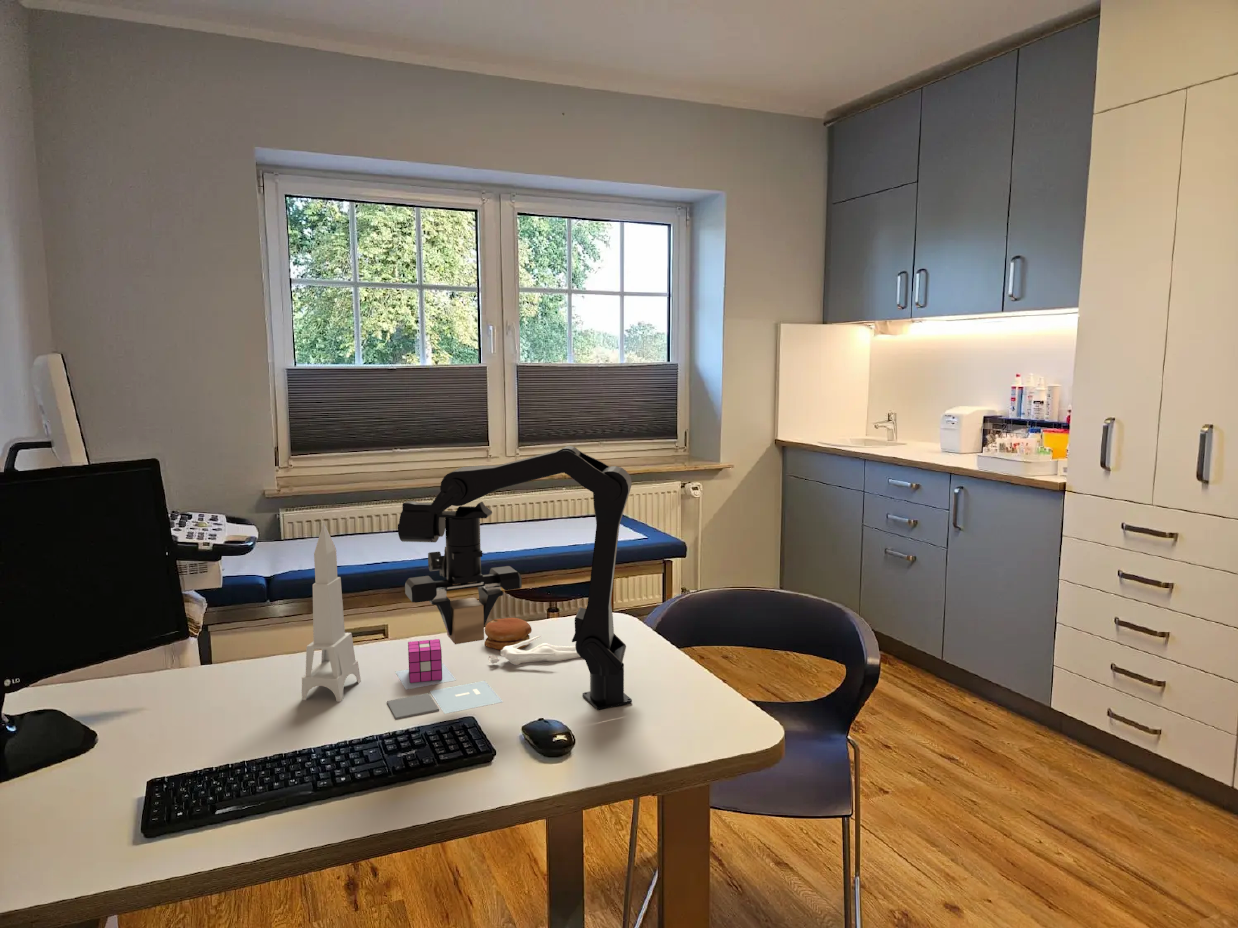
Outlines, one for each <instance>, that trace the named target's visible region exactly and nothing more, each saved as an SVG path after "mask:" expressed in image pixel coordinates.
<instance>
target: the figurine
mask: <svg viewBox="0 0 1238 928" xmlns="http://www.w3.org/2000/svg"><path fill="white" fill-rule="evenodd" d="M541 638H542V635H536V636H534V637H532V638H531V637H530V639H529V640H526V641H523V642H520V643H518V644H515V645H510V646H505V647H504V648H503V650H499V651H500V652H499V653H500V656H502V658H505V659H506V660H507V661H508V662H509V663H511V664H512V665H515V666H518V665H520V664H524V663H525V664H527V663H535V662H545V661H546V662H561V661H567V660H571V659H576V658H577V659H578V658H581V657H580V655H579V654H578V653H577V651H576V646H575V645H576V644H574V645H572V646H570V645H569V646H567V645H566V646H564V645H563V646H562V645H552V644H550V643H547V642H543V643H540V644H538V645H537V646H534V647H533V648H531V649H529V650H525V649H517V648H519V647H520V646H522V645H527V644H530V643H532V642H534V641H536V640H538V639H541ZM487 656H488V658H487V659H488V662H489V663H491V664H492V665H494V664H497V663H498V662H499V661H500V659H499V657H498V656H497V655H494V654H490V655H487Z"/></svg>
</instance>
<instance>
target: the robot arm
mask: <svg viewBox="0 0 1238 928" xmlns="http://www.w3.org/2000/svg"><path fill="white" fill-rule="evenodd" d="M559 474H565V475H567V476H569V477H570V478H571V479H573V480H574V481H576V482H577V483H578V484H579V485H580V486H582V487H583V488H585V489H586V490H588V491H590V492H591V493H592V497H593V499H592V500H593V508H594V516H595V525H596V528H595V534H594V535H595V537H594V542H593V543H594V544H593V551H592V552H593V554H592V563H591V570H590V580H589V588H588V599H587V604H586V608H583V607H581V606H580V607H579V609H578V611H577V613H576V615H575V618H574V635H573V638H572V639H571V642H572V643H575V644H574V645H575V646H576V651H577V653H578V654H579V655H580V657H579V658H581V659H583V660H584V661H585V663H586V666H587V669H588V672H589V678H590V679H589V691H585V692H582V698H584V699H585V700H586V701H587V702H589V704H591V705H592V706H593V707H594V709H596V710H600V711H601V710H604V709H610V708H614V707H618V706H622V705H623V706H624V705H627V704H628V705H629V704H631V703H632V702H633V699H632V698H631V697H630V696H628V695H627V694H626V693H625V690H624V689H625V687H624V686H625V678H624V677H625V664H624V662H623V661H624V658H625V657H624V656H625V653H626V649H627V645H626V644H625V642H623V641H622V640H621V639H620V637H618V635H616V633H615V631H614V630H615V629H614V616H613V611H612V610H613V608H612V594H613V593H612V592H613V586H614V585H613V584H614V577H615V568H616V560H617V559H616V558H617V552H618V542H619V534H620V527H621V526H620V525H621V521H622V518H623V515H624V511H625V509H626V505H627V502H628V499H629V496H630V492H631V488H632V484H633V483H632V478H631V477H632V476H631V475H630V474H629V472H628V471H627V470H626V469H625V468H623V467H620V466H618V465H614V466H612V465H611V466H609V465H608V464H606V463H604V462H602V461H600V460H599V459H596V458H595V457H592V456H590V455H587V454H586V453H585V452H582V451H580V450H579V449H578V448H577V447H576V446H571V445H567V446H564V447H562V448H561V449H557V450H553V451H550V452H549V451H548V452H544V453H541V454H537V455H533V456H529V457H525V458H522V459H517V460H514V461H509V462H506V463H501V464H495V465H473V466H472V465H469V466H463V467H460V468H457V469H455V470H453V471H451V472H448V473H447V474H446V475H444V476H443V477H442V480H441V482H440V487H439V488H440V491H439V493H438V494H437V495H436V497H435V498H434V500H432V502H418V501H412V500H408V501H405V502H403V503H402V507H401V509H402V510H401V511H400V512H401V513H400V516H399V520H398V524H397V533H398V538H399V540H400V541H401V542H403V543H404V542H406V543H436V542H438V540H439V538H441V537H443V536H444V534H445V546H444V554H443V555H442V554H441V551H439V550H438V551H432V552H428V553H427V565H428V570H429V572H435V571H436V572H437V571H439V576H440V577H443V578H446V579H440V580H434V579H432V577H431V576H429V575H425V576H424V575H423V576H415V577H409V578H407V580H406V581H405V584H404V593H405V595H406V597H407V598H408V599H409V600H410V601H411V603H423V602H429V603H430V604H431V605H433V606H436V607H437V609H438V611H439V614H440V617H441V619H442V622H443V625H444V626H445V629H446V634H447V633H448V634H449V636H451V635H452V616H451V603H450V601H451V599H450V598H448V596H447V592H451V591H457V590H465V589H474V588H477V591H478V592H477V593H478V601H479V602H480V603H481V604H482V605H483V609H484V627H486V624H487V621H488V619H489V615H490V614H491V612H492V609H493V607H494V606H495V604H496V602H497V600H498V598H499V597H501V596H502V597H503V596H504V592H505V591H511V590H512V591H513V590H520V589H521V588H522V587H523V586H522V585H523V584H522V580H523V579H522V576H521V573H519V572H518V571H517V570H515V569H514V568H513V567H512V566H510V565H506V566H498V567H497V566H496V567H491V568H490V570H489V573H488V574H482V562H481V561H482V559H481V558H482V557H483V550H482V548H481V519H488V517H490V516H491V515H492V514H493V511H492V510H491V509H490V508H488V507H487V506H486V505H485V504H484V502H483V501H479V502H478V503H477V504H476V506H469V505H467V504H469V503H471V502H473V501H475V500H476V501H477V500H478V499H480V498H482V497H484V496H487V495H489V494H491V493H492V492H494V491H497V490H499V489H503V488H504V489H505V488H507V487H511V486H514V485H515V486H517V485H519V484H523V483H527V482H531V481H535V480H539V479H543V478H547V477H551V476H554V475H559ZM465 505H467V506H465ZM453 506H454V507H458V508H457V509H456V510H447V509H448V508H450V507H453ZM503 590H504V591H503Z"/></svg>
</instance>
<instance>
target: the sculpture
mask: <svg viewBox="0 0 1238 928" xmlns="http://www.w3.org/2000/svg"><path fill="white" fill-rule="evenodd" d="M337 556H338V555H337V548H336V546H335V544H334V541H333V539H332V536H331V535H330V533H329V531H328V527H327V526H326V524H325V522H322V526H321V530H320V533H319V536H318V539H317V543H316V546H315V549H314V552H313V558H314V559H313V560H314V578H315V580H314V581H315V582H314V583H313V584H312V623H313V624H312V628H313V630H312V632H313V640H312V641H311V642H310V643H309V644H307V645H306V653H305V654H306V656H305V674H304V675H303V676H302V677H301V700H302V701H307V696H308V693H309V692H310V691H311V689H313V688H315V687H325V688H327V689H329V690H330V691H331V692H332V693H333V695H334V696H335V700H336V702H338V703H340V702H343V699H344V697H345V696H344V690H345V689H344V687H345V683H346V679H347V678H348V677H349V675H354V677H355V678H356V682H357V684H358V685H359V684H360V683H361V682H362V680H361V679H362V678H361V673H360V667H359V661H358V660H357V659H356V655H355V647H354V640H353V635H352V634H353V633H352V632H346V629H345V618H344V617H345V616H344V604H343V593H342V579H341V576H338V560H337V558H338V557H337ZM315 650H321V661H320V662H319V663H318V664H317V665H315V666H314V667H313V662H314V655H315V654H314V653H315Z"/></svg>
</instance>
